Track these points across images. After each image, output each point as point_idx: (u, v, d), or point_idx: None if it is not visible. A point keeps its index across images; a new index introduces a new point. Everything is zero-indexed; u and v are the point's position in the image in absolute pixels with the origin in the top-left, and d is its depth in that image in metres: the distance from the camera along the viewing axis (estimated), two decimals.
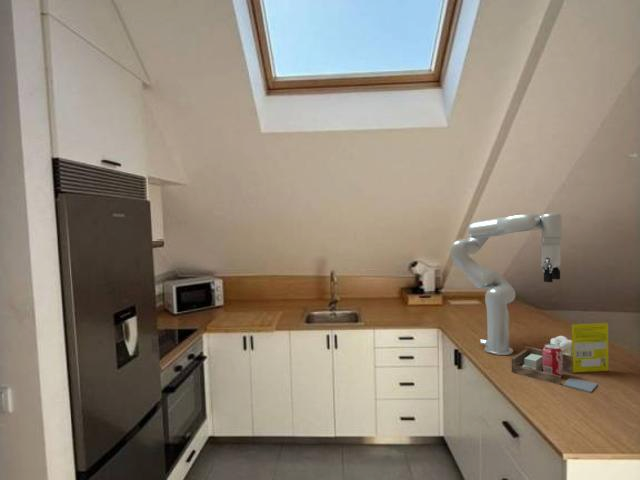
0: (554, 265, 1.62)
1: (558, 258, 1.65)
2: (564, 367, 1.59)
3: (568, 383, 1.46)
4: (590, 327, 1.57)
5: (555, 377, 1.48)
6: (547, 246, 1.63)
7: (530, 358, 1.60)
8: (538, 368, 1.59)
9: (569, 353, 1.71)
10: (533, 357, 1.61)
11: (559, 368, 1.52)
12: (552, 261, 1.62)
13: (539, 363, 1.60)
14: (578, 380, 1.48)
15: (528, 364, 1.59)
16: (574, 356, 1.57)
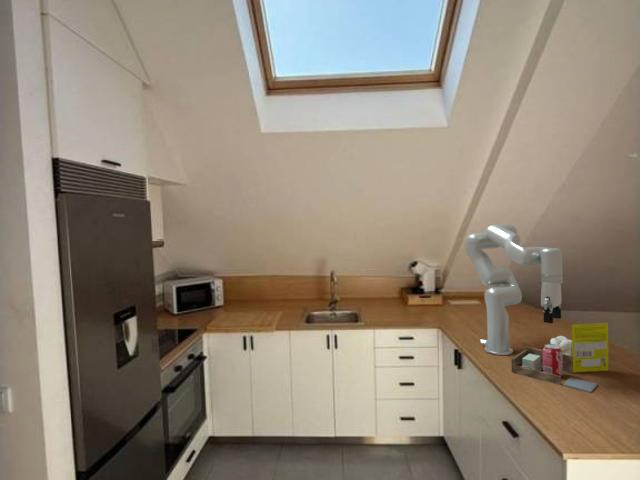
0: (555, 305, 1.51)
1: (559, 297, 1.53)
2: (564, 367, 1.59)
3: (568, 383, 1.46)
4: (590, 327, 1.57)
5: (555, 377, 1.48)
6: (547, 284, 1.52)
7: (528, 358, 1.60)
8: (538, 368, 1.59)
9: (569, 353, 1.71)
10: (531, 357, 1.61)
11: (559, 368, 1.52)
12: (552, 301, 1.50)
13: (537, 363, 1.60)
14: (578, 380, 1.48)
15: (526, 364, 1.59)
16: (574, 356, 1.57)
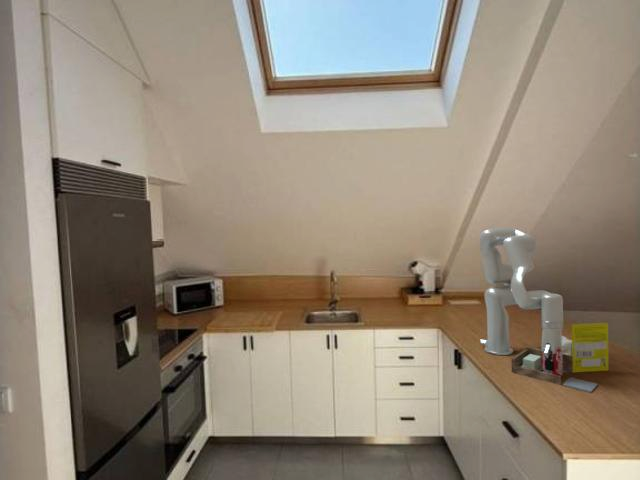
0: (555, 351, 1.51)
1: (559, 343, 1.54)
2: (564, 367, 1.59)
3: (568, 383, 1.46)
4: (590, 327, 1.57)
5: (555, 377, 1.48)
6: (547, 331, 1.52)
7: (529, 358, 1.59)
8: (537, 368, 1.59)
9: (569, 353, 1.71)
10: (532, 358, 1.60)
11: (559, 368, 1.52)
12: (553, 347, 1.51)
13: (538, 363, 1.59)
14: (578, 380, 1.48)
15: (526, 364, 1.59)
16: (574, 356, 1.57)
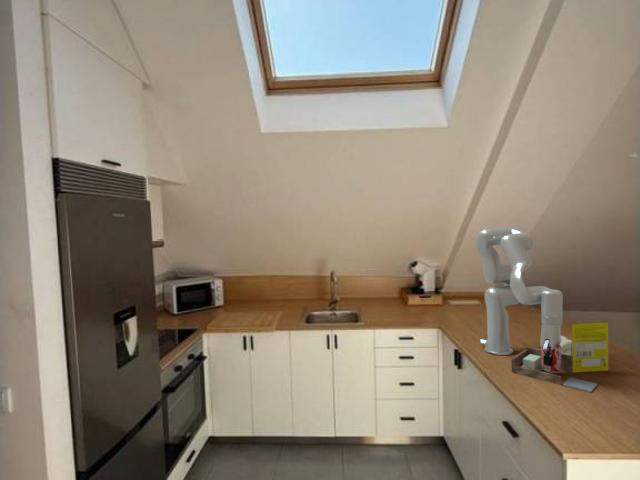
0: (554, 347, 1.52)
1: (558, 338, 1.54)
2: (564, 367, 1.59)
3: (568, 383, 1.46)
4: (590, 327, 1.57)
5: (555, 377, 1.48)
6: (546, 326, 1.52)
7: (529, 358, 1.59)
8: (538, 368, 1.59)
9: (569, 353, 1.71)
10: (532, 358, 1.60)
11: (558, 363, 1.53)
12: (552, 343, 1.51)
13: (538, 363, 1.59)
14: (578, 380, 1.48)
15: (527, 365, 1.58)
16: (574, 356, 1.57)
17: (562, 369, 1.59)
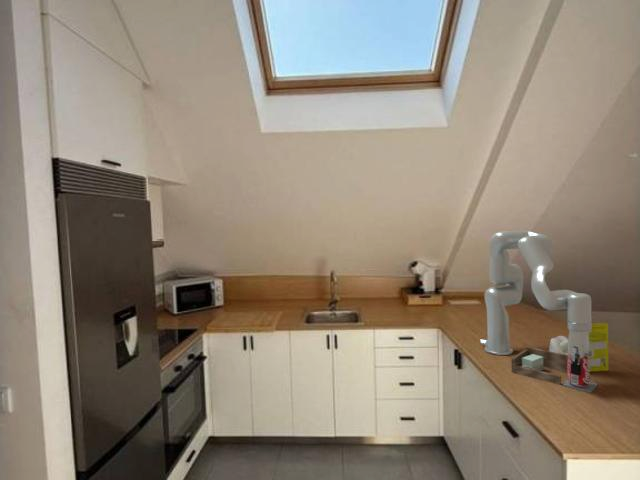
0: (583, 355, 1.41)
1: (587, 346, 1.43)
2: (564, 367, 1.59)
3: (568, 383, 1.46)
4: None
5: (555, 377, 1.48)
6: (574, 333, 1.42)
7: (528, 358, 1.60)
8: (538, 368, 1.59)
9: None
10: (532, 357, 1.60)
11: (586, 377, 1.41)
12: (581, 351, 1.40)
13: (538, 364, 1.59)
14: None
15: (525, 364, 1.60)
16: None
17: (562, 369, 1.59)
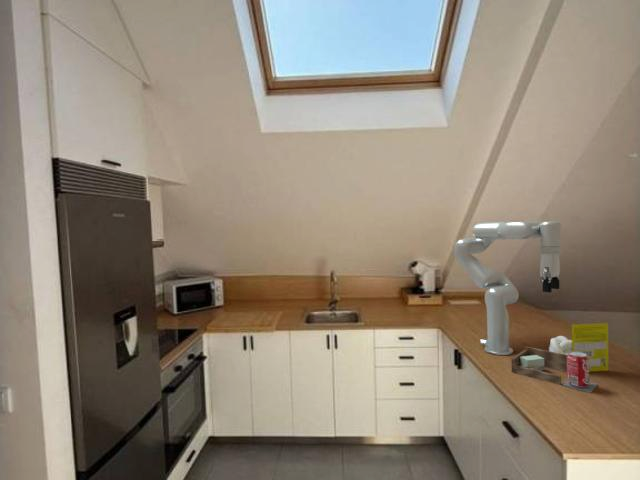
0: (553, 275, 1.58)
1: (557, 267, 1.61)
2: (564, 367, 1.59)
3: (568, 383, 1.46)
4: (590, 327, 1.57)
5: (555, 377, 1.48)
6: (546, 255, 1.59)
7: (526, 357, 1.61)
8: (537, 368, 1.59)
9: None
10: (530, 357, 1.61)
11: (586, 377, 1.41)
12: (551, 271, 1.58)
13: (536, 364, 1.59)
14: None
15: (522, 363, 1.61)
16: None
17: (562, 369, 1.59)
